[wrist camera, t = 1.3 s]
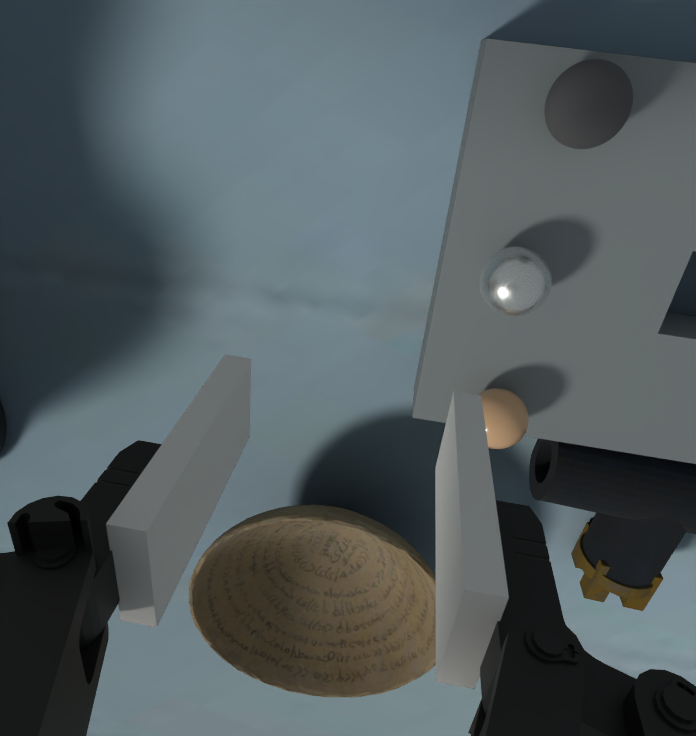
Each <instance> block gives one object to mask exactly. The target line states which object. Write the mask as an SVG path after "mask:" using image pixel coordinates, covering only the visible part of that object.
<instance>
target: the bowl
mask: <svg viewBox="0 0 696 736" xmlns="http://www.w3.org/2000/svg"><path fill="white" fill-rule="evenodd" d="M189 604H190V611H191V615H192V618H193V621H194V623H195V626H196V627H197V628H198V630H199V631H200V633H201V634H202V636H203V638H204V640H205V641H206V642H207V643H208V644H209V646H210V647H211V648H212V649H213V650H214V651H215V652H216V653H217V654H218V655H219V656H220V657H221V658H222V659H224V660H225V661H227V662H228V663H230V664H231V665H232V666H234V667H235V668H236V669H237V670H239V671H241V672H243V673H245V674H247V675H249V676H251V677H252V678H255V679H258V680H260V681H262V682H264V683H266V684H269V685H272V686H275V687H278V688H281V689H284V690H287V691H291V692H296V693H302V694H307V695H312V696H321V697H361V696H366V695H373V694H380V693H384V692H387V691H390V690H394V689H396V688H399V687H401V686H403V685H405V684H407V683H409V682H411V681H413V680H415V679H417V678H419V677H421V676H422V675H423V674H425V673H426V672H428V671H429V670H430V669H432V668H433V667H434V665H435V664H436V575H435V573H434V572H433V570H432V569H431V568H430V566H429V565H428V563H427V562H426V561H425V560H424V558H423V557H422V556H421V555H420V554H419V553H418V552H417V550H416V549H415V548H414V547H413V546H412V545H411V544H410V543H409V542H408V541H406V540H405V539H404V538H403V537H401V536H400V535H399V534H397V533H396V532H394V531H393V530H391V529H390V528H388V527H386V526H385V525H383V524H381V523H379V522H377V521H375V520H373V519H371V518H369V517H366V516H364V515H362V514H359V513H357V512H354V511H351V510H348V509H344V508H339V507H334V506H325V505H299V506H288V507H282V508H278V509H274V510H270V511H266V512H263V513H260V514H258V515H255V516H253V517H250V518H247V519H246V520H244V521H242V522H240V523H239V524H237V525H235V526H234V527H232V528H230V529H229V530H228V531H226V532H225V533H223V534H222V535H221V536H220V537H219V538H217V539H216V540H215V541H214V542H213V543H212V545H211V546H210V547H209V548H208V549H207V550H206V551H205V553H204V554H203V556H202V557H201V559H200V560H199V562H198V564H197V566H196V568H195V570H194V572H193V575H192V577H191V581H190V586H189Z"/></svg>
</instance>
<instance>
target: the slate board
mask: <svg viewBox="0 0 696 736" xmlns="http://www.w3.org/2000/svg"><path fill="white" fill-rule="evenodd" d="M589 59H603V60H607V61H610V62H613V63H615V64H616V65H618V66H619V67H620V68H622V69H623V70H624V72H625V73H626V74H627V76H628V77H629V79H630V82H631V84H632V88H633V105H632V109H631V112H630V115H629V117H628V119H627V121H626V123H625V124H624V126H623V127H622V129H621V130H620V131H619V132H618V133H617V134H616V135H615V136H614V137H613V138H611V139H610V140H609V141H607V142H605V143H604V144H602V145H599V146H597V147H594V148H589V149H574V148H570V147H567V146H565V145H563V144H561V143H559V142H558V141H557V140H556V139H555V138H554V137H553V136H552V134H551V133H550V132H549V130H548V128H547V125H546V121H545V114H544V109H545V102H546V98H547V95H548V93H549V90H550V88H551V87H552V85H553V83H554V82H555V80H556V79H557V78H558V77H559V76H560V75H561V74H562V73H563V72H564V71H565V70H566V69H568V68H569V67H571V66H573V65H575V64H576V63H579V62H582V61H585V60H589ZM516 246H519V247H526V248H529V249H532V250H534V251H536V252H537V253H539V254H540V255H541V256H542V257H543V258H544V259H545V261H546V262H547V264H548V265H549V268H550V271H551V275H552V285H551V290H550V293H549V295H548V297H547V299H546V300H545V302H544V303H543V304H542V305H541V306H540V307H539V308H538V309H536V310H535V311H533V312H531V313H529V314H527V315H523V316H518V317H510V316H504V315H502V314H499V313H497V312H495V311H494V310H492V309H491V308H490V307H489V306H488V305H487V304H486V302H485V301H484V299H483V297H482V295H481V292H480V286H479V280H480V274H481V271H482V269H483V267H484V265H485V263H486V262H487V261H488V259H489V258H490V257H491V256H492V255H494V254H495V253H497V252H498V251H500V250H502V249H505V248H508V247H516ZM693 251H696V63H691V62H683V61H674V60H666V59H657V58H649V57H640V56H632V55H623V54H615V53H606V52H598V51H589V50H581V49H572V48H563V47H555V46H546V45H538V44H529V43H521V42H512V41H504V40H495V39H484V40H481V44H480V49H479V55H478V60H477V65H476V70H475V75H474V80H473V86H472V91H471V96H470V101H469V106H468V112H467V117H466V122H465V127H464V132H463V137H462V143H461V148H460V153H459V158H458V163H457V169H456V174H455V179H454V184H453V189H452V194H451V200H450V205H449V210H448V215H447V220H446V226H445V231H444V236H443V241H442V246H441V251H440V257H439V262H438V267H437V272H436V277H435V283H434V288H433V293H432V298H431V303H430V308H429V314H428V319H427V324H426V329H425V334H424V340H423V345H422V350H421V355H420V360H419V365H418V371H417V376H416V381H415V386H414V398H413V414H412V418H418V419H424V420H430V421H436V422H442V423H446V421H447V417H448V412H449V408H450V404H451V400H452V395H453V391H455V392H462V393H468V394H474V395H478V394H479V393H481V392H482V391H484V390H487V389H492V388H501V389H506V390H508V391H511V392H513V393H514V394H516V395H517V396H518V397H519V398H520V399H521V400H522V401H523V403H524V404H525V406H526V408H527V411H528V417H529V422H528V428H527V430H526V433H525V434H524V436H528V437H534V438H540V439H546V440H552V441H558V442H564V443H570V444H577V445H583V446H589V447H595V448H601V449H607V450H613V451H619V452H625V453H632V454H638V455H644V456H650V457H656V458H662V459H668V460H674V461H681V462H687V463H693V464H696V316H690V315H683V314H676V313H670V312H667V311H668V308H669V306H670V304H671V301H672V299H673V297H674V294H675V292H676V289H677V287H678V285H679V282H680V280H681V278H682V275H683V273H684V271H685V268H686V266H687V264H688V261H689V259H690V257H691V254H692V252H693Z"/></svg>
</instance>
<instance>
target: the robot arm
mask: <svg viewBox="0 0 696 736" xmlns="http://www.w3.org/2000/svg"><path fill="white" fill-rule="evenodd" d="M250 388H251V359H249V358H242V357H236V356H230V355H224V357H223V358H222V359H221V361H220V362H219V364H218V365H217V367H216V368H215V369H214V371H213V372H212V374H211V375H210V377H209V378H208V379H207V381H206V382H205V384H204V385H203V386H202V388H201V389H200V391H199V392H198V394H197V395H196V396H195V398H194V399H193V401H192V402H191V404H190V405H189V406H188V408H187V409H186V411H185V412H184V414H183V415H182V416H181V418H180V419H179V421H178V422H177V424H176V425H175V426H174V428H173V429H172V431H171V432H170V433H169V435H168V436H167V438H166V439H165V441H164V442H163V443H162V444H156V443H151V442H145V441H139V440H138V441H136V442H135V443H133V444H132V445H130V446H128V447H127V448H125V449H124V450H122V451H120V452H119V453H118V455H117V456H116V457H115V458H114V460H113V461H112V462H111V463H110V465H109V466H108V468H107V470H105V471H104V472H103V473H102V475H101V476H100V477H99V478H98V481H97V483H94V485H93V486H92V487H91V489H90V490H89V491H88V492H87V494H86V495H85V496H84V497H83V499H82V500H81V501H79V500H77V499H75V498H73V497H65V496H54V497H47V498H42V499H40V500H37V501H34V502H32V503H29V504H27V505H26V506H24V507H23V508H22V509H20V510H19V511H17V512H16V513H15V514H14V515H13V517H12V518H11V519H10V521H9V522H8V527H9V531H10V534H11V538H12V541H13V545H14V549H15V551H14V552H8V553H0V736H86V734H87V729H88V725H89V721H90V716H91V712H92V708H93V703H94V699H95V695H96V690H97V686H98V682H99V677H100V673H101V669H102V664H103V660H104V656H105V651H106V647H107V643H108V623H107V622H108V620H109V618H110V617H111V615H112V613H113V612H114V610H115V608H116V606H117V605H119V611H120V618H121V621H126V622H131V623H136V624H141V625H146V626H152V627H157V626H158V624H159V622H160V620H161V618H162V616H163V613H164V611H165V609H166V607H167V605H168V603H169V601H170V599H171V597H172V595H173V593H174V591H175V589H176V587H177V585H178V583H179V581H180V579H181V576H182V574H183V572H184V570H185V568H186V566H187V564H188V562H189V560H190V558H191V556H192V554H193V552H194V550H195V548H196V546H197V544H198V542H199V539H200V537H201V535H202V533H203V531H204V529H205V527H206V525H207V523H208V521H209V519H210V517H211V515H212V513H213V511H214V509H215V507H216V505H217V502H218V500H219V498H220V496H221V494H222V492H223V490H224V488H225V486H226V484H227V482H228V480H229V478H230V476H231V474H232V472H233V470H234V468H235V465H236V463H237V461H238V459H239V457H240V455H241V453H242V451H243V449H244V447H245V445H246V443H247V441H248V439H249V437H250ZM4 440H5V420H4V415H3V411H2V408H1V405H0V452H1V449H2V447H3V444H4ZM435 520H436V682H440V683H445V684H450V685H455V686H460V687H466V688H471V689H475V686H476V684H477V681H478V678H479V676H480V677H481V691H482V699H481V702H480V704H479V707H478V710H477V712H476V715H475V717H474V720H473V722H472V725H471V727H470V730H469V732H468V733H470V734H471V736H696V686H694V685H693V684H691V683H690V682H688V681H687V680H686V679H684V678H683V677H681V676H679V675H676V674H674V673H671V672H669V671H666V670H655V669H650V670H648V671H646V672H643V673H641V674H640V675H639V676H638V678H637V679H635V678H633V677H631V676H629V675H627V674H625V673H623V672H621V671H618V670H616V669H614V668H612V667H610V666H608V665H606V664H604V663H602V662H601V661H599V660H597V659H595V658H594V657H592V656H591V655H590V654H588V653H587V652H586V651H585V650H584V649H583V647H582V645H581V644H580V642H579V640H578V638H577V636H576V635H575V634H574V633H573V632H572V631H571V630H570V629H569V628H568V627H567V626H566V624H565V622H564V619H563V615H562V610H561V606H560V602H559V597H558V593H557V589H556V584H555V580H554V575H553V571H552V567H551V562H549V554H548V549H547V546H546V540H545V536H544V532H543V527H542V524H541V522H540V521H539V519H538V518H537V517H536V515H535V514H534V512H533V511H532V510H531V508H530V507H529V506H525V505H520V504H514V503H508V502H502V501H496V500H495V493H494V485H493V478H492V471H491V463H490V456H489V449H488V442H487V434H486V427H485V420H484V412H483V405H482V398H481V396H480V395H474V394H468V393H462V392H455V391H453V395H452V400H451V404H450V408H449V412H448V417H447V421H446V425H445V429H444V434H443V438H442V442H441V446H440V451H439V455H438V459H437V463H436V468H435Z"/></svg>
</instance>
